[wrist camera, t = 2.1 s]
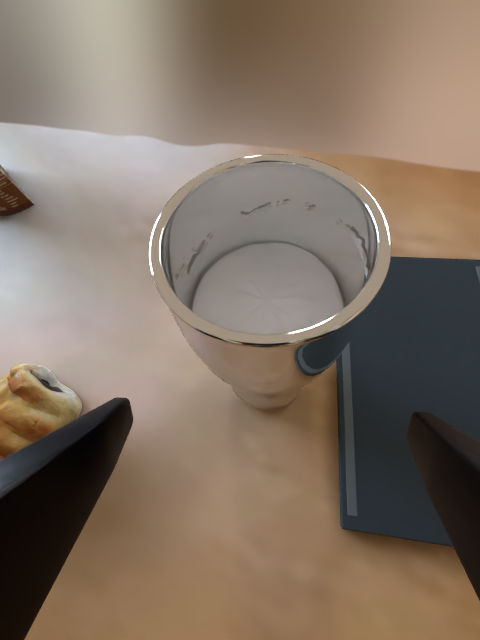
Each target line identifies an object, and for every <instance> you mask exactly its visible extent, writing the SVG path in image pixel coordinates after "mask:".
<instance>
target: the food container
mask: <svg viewBox="0 0 480 640" xmlns="http://www.w3.org/2000/svg"><path fill="white" fill-rule="evenodd" d="M32 205H34V204H33V203H32V201H31V200H30V199H29V198H28V197H27V196H26V194H25V193H24V192H23V191H22V190H21V188H20V187H19V186H18V185H17V184H16V183H15V181H14V180H13V179H12V178H11V177H10V175H9V174H8V173H7V172H6V171H5V170H4V168H3V167H2V166H1V165H0V216H5V215H11V214H14V213H17V212H20V211H23V210H25V209H27V208H29V207H30V206H32Z"/></svg>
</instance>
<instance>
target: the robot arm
mask: <svg viewBox="0 0 480 640" xmlns="http://www.w3.org/2000/svg"><path fill="white" fill-rule="evenodd" d="M132 423H133V415H132V410H131V406H130V401H129V399H127V398H114V399H112V400H110V401H108V402H107V403H105V404H103V405H101V406H99V407H97V408H96V409H94V410H92V411H90V412H88V413H86V414H85V415H83V416H81V417H79V418H77V419H75V420H73V421H72V422H70V423H68V424H66V425H64V426H62V427H61V428H59V429H57V430H55V431H53V432H51V433H50V434H48V435H46V436H44V437H42V438H40V439H39V440H37V441H35V442H33V443H31V444H29V445H27V446H26V447H24V448H22V449H20V450H18V451H16V452H15V453H13V454H11V455H9V456H7V457H5V458H4V459H2V460H0V640H24V639H25V637H26V635H27V633H28V631H29V629H30V628H31V626H32V624H33V622H34V620H35V618H36V616H37V614H38V612H39V610H40V609H41V607H42V605H43V603H44V601H45V599H46V597H47V595H48V593H49V591H50V590H51V588H52V586H53V584H54V582H55V580H56V578H57V576H58V574H59V572H60V571H61V569H62V567H63V565H64V563H65V561H66V559H67V557H68V555H69V553H70V552H71V550H72V548H73V546H74V544H75V542H76V540H77V538H78V536H79V535H80V533H81V531H82V529H83V527H84V525H85V523H86V521H87V519H88V517H89V516H90V514H91V512H92V510H93V508H94V506H95V504H96V502H97V500H98V498H99V497H100V495H101V493H102V491H103V489H104V487H105V485H106V483H107V481H108V479H109V478H110V476H111V474H112V472H113V470H114V468H115V465H116V463H117V461H118V458H119V456H120V453H121V451H122V448H123V446H124V444H125V441H126V439H127V436H128V434H129V431H130V429H131V426H132ZM407 441H408V444H409V446H410V449H411V452H412V454H413V457H414V460H415V462H416V465H417V468H418V470H419V473H420V476H421V478H422V481H423V484H424V486H425V489H426V491H427V494H428V496H429V498H430V500H431V502H432V504H433V506H434V508H435V510H436V512H437V514H438V516H439V518H440V521H441V523H442V525H443V527H444V529H445V531H446V533H447V535H448V537H449V539H450V541H451V543H452V545H453V547H454V549H455V551H456V553H457V555H458V557H459V559H460V561H461V563H462V565H463V568H464V570H465V572H466V574H467V576H468V578H469V580H470V582H471V584H472V586H473V588H474V590H475V592H476V594H477V596H478V598H479V600H480V443H479V442H477V441H475V440H474V439H472V438H470V437H469V436H467V435H465V434H464V433H462V432H460V431H459V430H457V429H455V428H454V427H452V426H450V425H449V424H447V423H445V422H444V421H442V420H441V419H439V418H437V417H436V416H434V415H432V414H431V413H428V412H413V413H412V414H411V417H410V421H409V425H408V429H407Z"/></svg>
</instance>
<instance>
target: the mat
mask: <svg viewBox="0 0 480 640" xmlns="http://www.w3.org/2000/svg"><path fill="white" fill-rule="evenodd" d="M336 360H337V400H338V439H339V478H340V518H341V527H342V528H343V529H348V530H354V531H360V532H367V533H373V534H379V535H385V536H391V537H397V538H403V539H409V540H416V541H422V542H428V543H434V544H440V545H446V546H452V547H453V545H452V543H451V541H450V539H449V537H448V535H447V533H446V531H445V529H444V527H443V525H442V523H441V521H440V518H439V516H438V514H437V512H436V510H435V508H434V506H433V504H432V502H431V500H430V498H429V496H428V494H427V491H426V489H425V486H424V484H423V481H422V478H421V476H420V473H419V470H418V468H417V465H416V462H415V460H414V457H413V454H412V452H411V449H410V446H409V444H408V441H407V429H408V425H409V421H410V417H411V414H412V413H413V412H428V413H431V414H432V415H434V416H436V417H437V418H439V419H441V420H442V421H444V422H445V423H447V424H449V425H450V426H452V427H454V428H455V429H457V430H459V431H460V432H462V433H464V434H465V435H467V436H469V437H470V438H472V439H474V440H475V441H477V442H479V443H480V260H470V259H442V258H414V257H391V260H390V265H389V269H388V272H387V275H386V278H385V280H384V283H383V285H382V287H381V288H380V290H379V292H378V293H377V295H376V296H375V298H374V299H373V300H372V302H371V303H370V305H369V307H368V309H367V311H366V313H365V315H364V317H363V319H362V321H361V322H360V324H359V326H358V328H357V330H356V331H355V333H354V335H353V337H352V338H351V340H350V341H349V343H348V344H347V346H346V347H345V349H344V350H343V351H342V353H341V354H340V356H339V357H338V358H337V359H336Z"/></svg>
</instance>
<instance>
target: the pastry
mask: <svg viewBox="0 0 480 640" xmlns="http://www.w3.org/2000/svg"><path fill="white" fill-rule="evenodd" d="M81 410H82V402H81V401H80V399H79V397H78V396H77V395H76V393H75V392H74V391H73V390H71V389H69V388H67V387H66V386H65V385H63V384H61V383H59V382H58V380H57V378H56V376H55V374H54V373H53V372H51V371H50V370H49V369H48V368H46V367H43V366H40V365H33V364H21V365H17V366H14V367H12V368H11V370H10V373H9V374H7V375H6V376H5V377H3V378H2V379H0V460H2V459H4V458H5V457H7V456H9V455H11V454H13V453H15V452H16V451H18V450H20V449H22V448H24V447H26V446H27V445H29V444H31V443H33V442H35V441H37V440H39V439H40V438H42V437H44V436H46V435H48V434H50V433H51V432H53V431H55V430H57V429H59V428H61V427H62V426H64V425H66V424H68V423H70V422H72V421H73V420H75V419H77V418H78V417H79V414H80V412H81Z"/></svg>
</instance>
